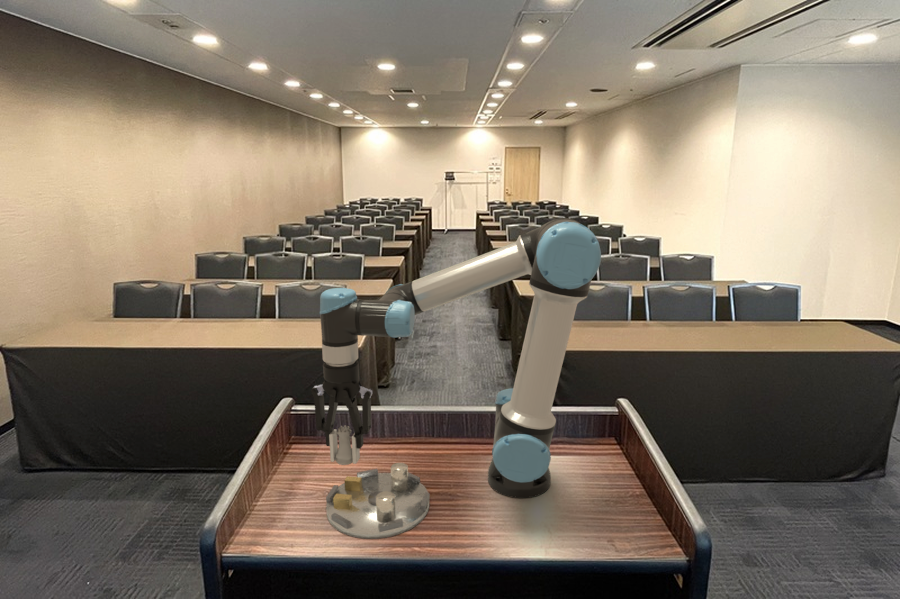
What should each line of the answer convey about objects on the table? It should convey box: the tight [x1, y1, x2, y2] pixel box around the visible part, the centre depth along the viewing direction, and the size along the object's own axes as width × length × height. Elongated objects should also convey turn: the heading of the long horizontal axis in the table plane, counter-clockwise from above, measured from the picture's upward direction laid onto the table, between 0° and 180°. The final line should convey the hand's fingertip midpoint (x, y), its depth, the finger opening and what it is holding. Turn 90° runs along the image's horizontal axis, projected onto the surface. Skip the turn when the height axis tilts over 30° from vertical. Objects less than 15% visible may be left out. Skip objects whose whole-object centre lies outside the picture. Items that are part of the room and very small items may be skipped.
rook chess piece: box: [334, 425, 353, 466], centre depth 123 cm, size 4×4×8 cm
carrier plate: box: [325, 462, 430, 540], centre depth 125 cm, size 23×23×6 cm
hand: (345, 459), depth 124 cm, fingers closed on rook chess piece, 4 cm apart
